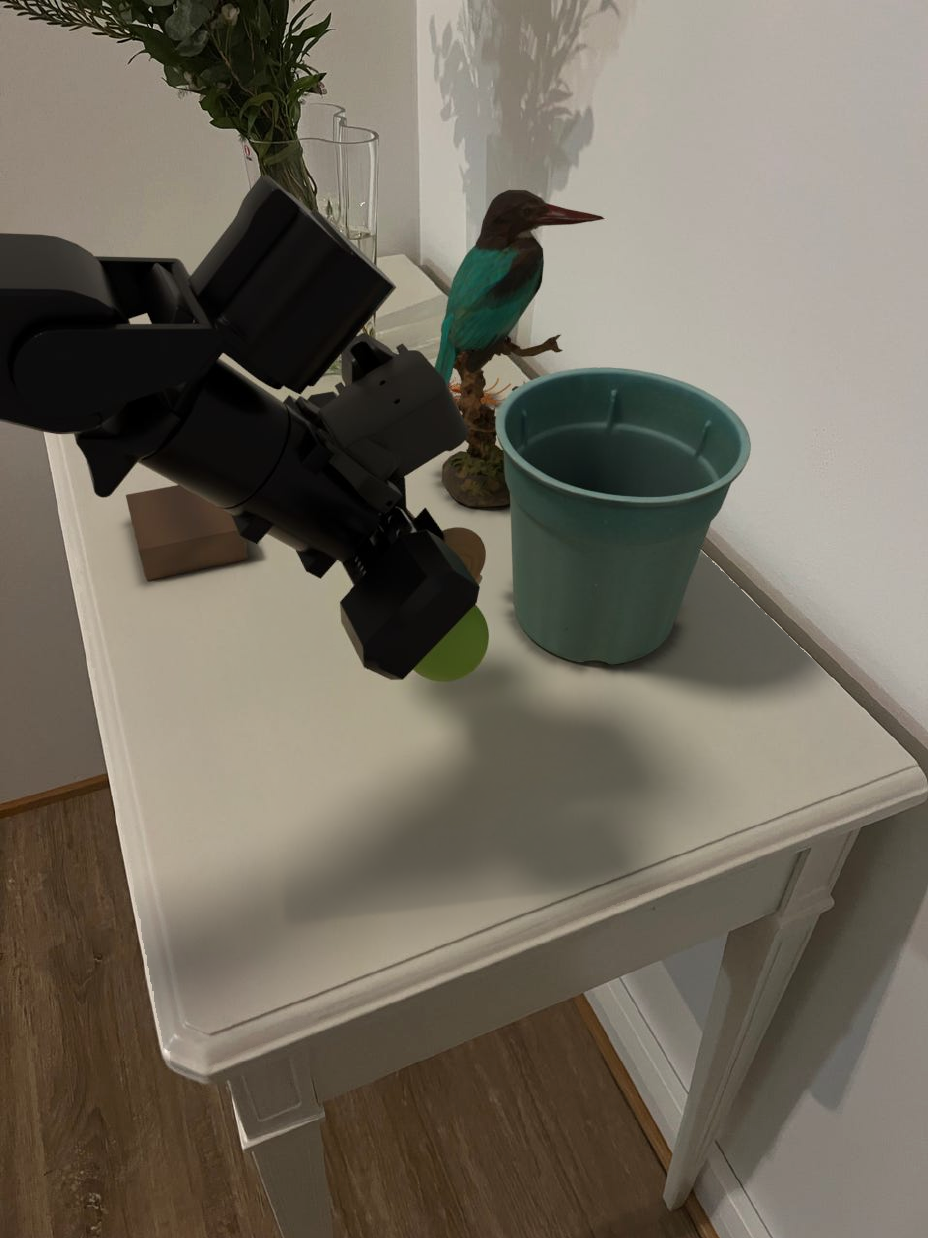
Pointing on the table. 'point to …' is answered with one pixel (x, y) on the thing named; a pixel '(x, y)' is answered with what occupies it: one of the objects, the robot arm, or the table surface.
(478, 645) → the snail figurine
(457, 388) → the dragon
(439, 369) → the sculpture
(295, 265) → the robot arm
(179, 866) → the table surface
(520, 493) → the flower pot
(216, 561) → the riser
